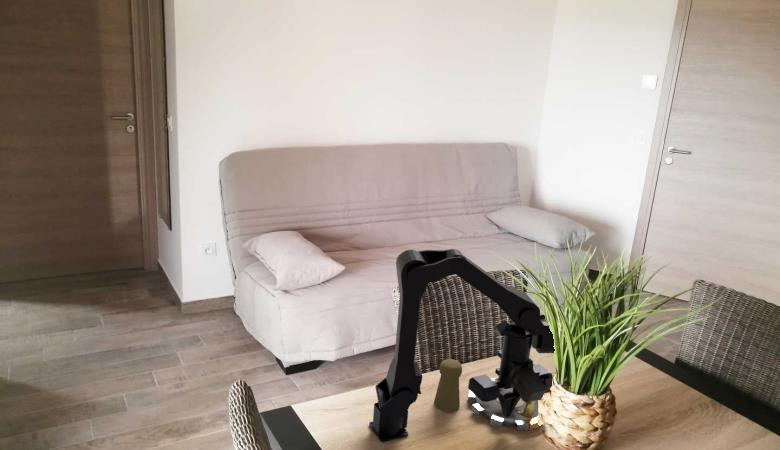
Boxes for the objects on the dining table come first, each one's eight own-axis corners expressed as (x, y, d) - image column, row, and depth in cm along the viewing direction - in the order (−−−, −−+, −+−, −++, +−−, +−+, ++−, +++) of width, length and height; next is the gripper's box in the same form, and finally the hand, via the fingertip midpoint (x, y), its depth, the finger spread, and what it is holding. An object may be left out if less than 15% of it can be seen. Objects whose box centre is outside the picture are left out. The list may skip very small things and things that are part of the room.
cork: (458, 414, 131) (463, 371, 128) (432, 409, 132) (436, 366, 129) (460, 399, 137) (465, 358, 134) (435, 395, 138) (439, 353, 135)
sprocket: (499, 439, 123) (503, 414, 122) (452, 392, 139) (455, 370, 137) (566, 420, 131) (570, 397, 130) (515, 379, 147) (518, 357, 146)
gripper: (503, 379, 112) (493, 448, 116) (576, 363, 120) (564, 428, 124) (470, 351, 121) (462, 416, 125) (541, 338, 129) (531, 399, 134)
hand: (506, 415), depth 127 cm, fingers closed
